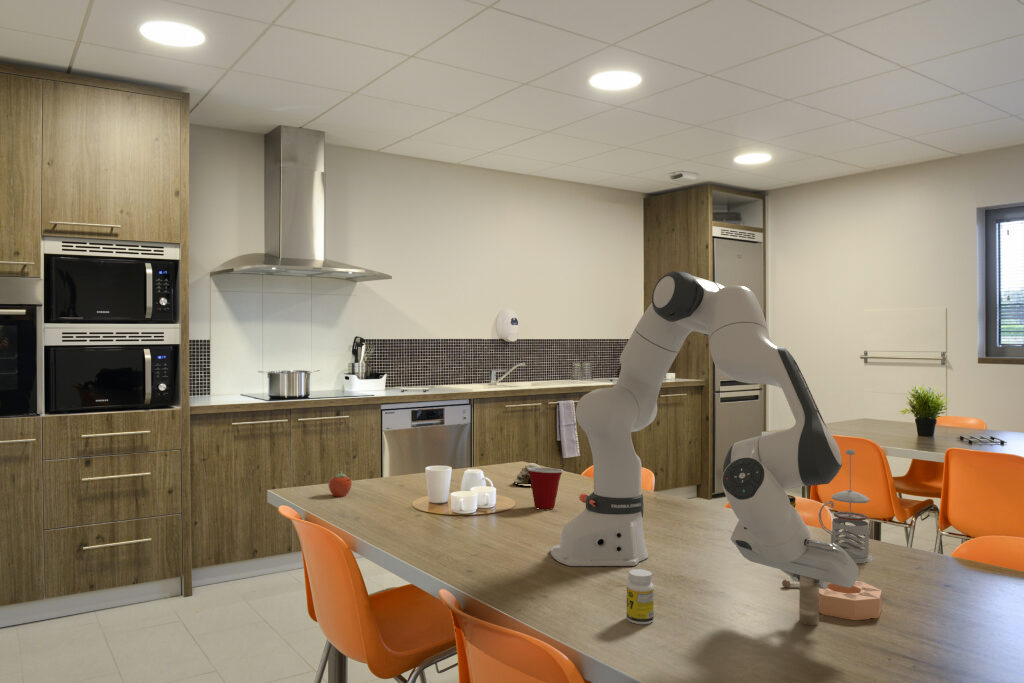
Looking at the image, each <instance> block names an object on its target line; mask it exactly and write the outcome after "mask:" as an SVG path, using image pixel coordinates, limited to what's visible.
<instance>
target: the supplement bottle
mask: <svg viewBox="0 0 1024 683" xmlns="http://www.w3.org/2000/svg"><path fill="white" fill-rule="evenodd" d="M652 575H653V573H652V572H651V571H649V570H647V569H640V568H639V569H635V568H634V569H631V570H629V572H628V581H627V583H626V619H627V621H628V622H630V623H631V622H632V624H634V623H635V624H634V625H649V624H652V623H653V622H654V618H655V617H654V615H655V614H654V613H655V611H654V610H655V608H654V605H655V599H654V597H655V592H654V591H655V586H654V584H653V583H652V582H653V581H652V580H653V579H652V578H653V576H652ZM651 622H652V623H651Z"/></svg>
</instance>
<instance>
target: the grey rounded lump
mask: <svg viewBox="0 0 1024 683" xmlns="http://www.w3.org/2000/svg"><path fill="white" fill-rule="evenodd" d="M532 467H541V466H540V465H538V464H537V463H535V462H530V463H527V464H525V466H524V467H523V468H521V471H519V473H517V475H516V478H515V479H514V481H513V482H514V483H517V484H531V479H530V475H529V470H528V468H532Z"/></svg>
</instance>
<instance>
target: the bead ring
mask: <svg viewBox="0 0 1024 683" xmlns="http://www.w3.org/2000/svg"><path fill="white" fill-rule="evenodd" d="M882 609H883V591H882V590H881V589H879V588H878V587H875V586H873V585H871V584H868V583H866V582H865V581H861V580H856V582H855V584H854V585H853V586H852V587H851V588H847V587H843V586H839V585H836V584H832V583H829V584H828V587H827V589H826V590H825V589H822V588H819V614H822V615H824V616H829V615H830V617H834V616H835V618H840V619H845V620H846V619H847V620H851V621H860V620H861V621H862V620H871V619H870V618H874V619H880V617H881V614H880V613H882V611H883V610H882ZM879 616H880V617H879Z"/></svg>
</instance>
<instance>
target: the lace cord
mask: <svg viewBox="0 0 1024 683" xmlns="http://www.w3.org/2000/svg"><path fill="white" fill-rule="evenodd" d="M781 585H782V586H783V587H784V588H792V589H793V588H795V589H797V588H798V589H800V583H791V581H790V580H789V579H786V578H785V579H783V580H782V582H781Z"/></svg>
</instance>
